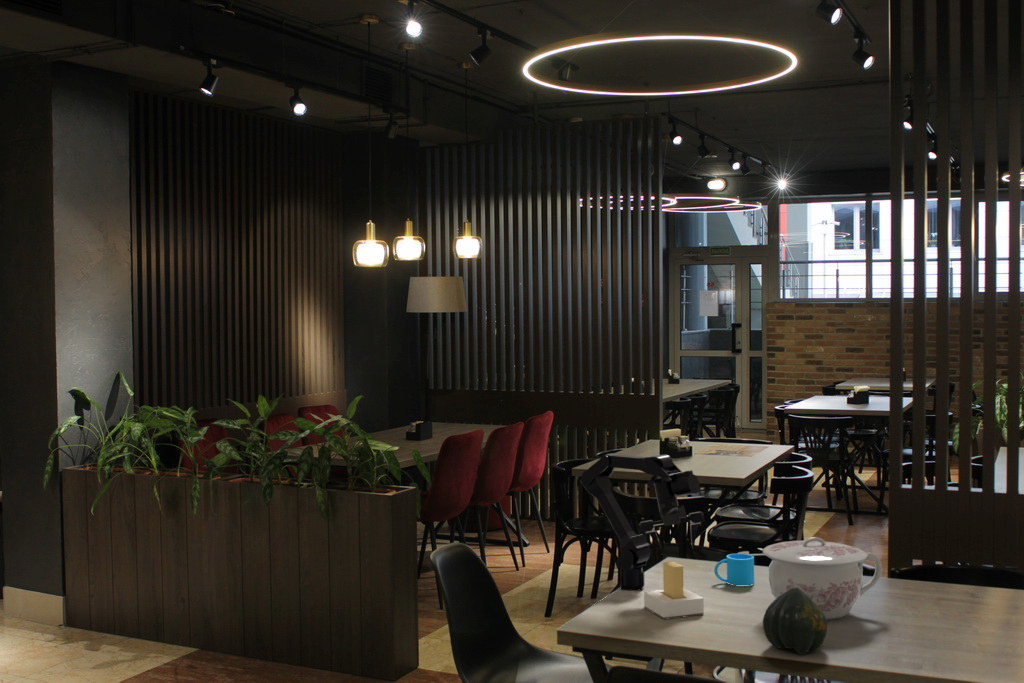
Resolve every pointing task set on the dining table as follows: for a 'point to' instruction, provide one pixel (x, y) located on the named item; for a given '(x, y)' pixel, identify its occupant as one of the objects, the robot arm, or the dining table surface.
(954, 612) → the dining table surface
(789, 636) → the squash
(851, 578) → the chamber pot
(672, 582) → the block
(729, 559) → the mug
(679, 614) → the white slotted base
